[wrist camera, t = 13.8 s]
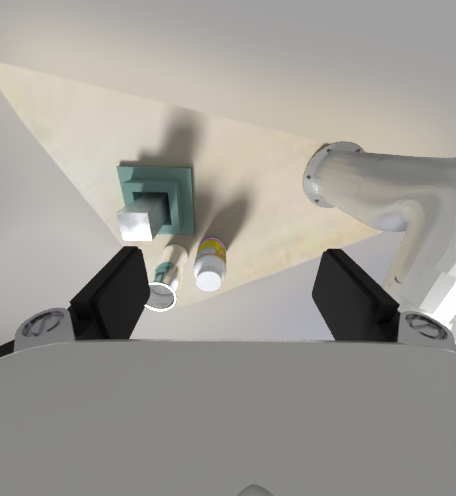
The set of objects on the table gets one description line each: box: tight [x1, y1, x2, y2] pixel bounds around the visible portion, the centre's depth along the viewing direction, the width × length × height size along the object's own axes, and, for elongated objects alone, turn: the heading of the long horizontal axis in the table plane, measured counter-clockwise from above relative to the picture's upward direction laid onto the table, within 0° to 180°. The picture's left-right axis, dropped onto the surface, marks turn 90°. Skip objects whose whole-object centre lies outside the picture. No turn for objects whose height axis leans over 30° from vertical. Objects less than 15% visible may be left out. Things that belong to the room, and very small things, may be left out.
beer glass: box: [146, 244, 188, 311], centre depth 42 cm, size 7×7×15 cm
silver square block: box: [116, 192, 171, 241], centre depth 36 cm, size 4×4×13 cm
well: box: [117, 166, 195, 235], centre depth 40 cm, size 14×14×5 cm
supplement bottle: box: [193, 238, 226, 291], centre depth 42 cm, size 7×7×13 cm
